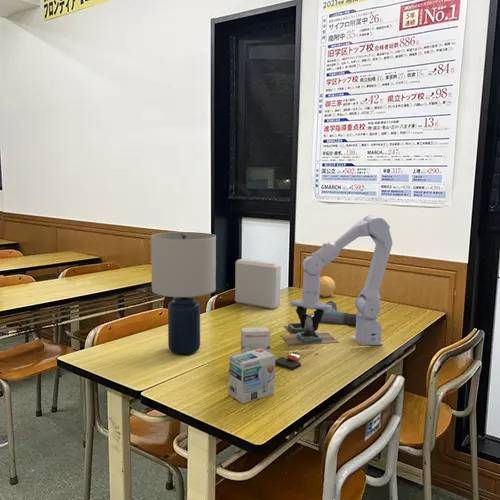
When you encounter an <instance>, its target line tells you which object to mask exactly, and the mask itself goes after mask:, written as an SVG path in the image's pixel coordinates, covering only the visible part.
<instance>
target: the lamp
mask: <svg viewBox="0 0 500 500" xmlns="http://www.w3.org/2000/svg"><path fill="white" fill-rule="evenodd" d="M216 240H217V235H216V234H213V233H207V232H199V231H197V232H196V231H195V232H194V231H171V232H160V233H153V234H151V235H150V251H151V252H150V253H151V255H150V257H151V262H150V263H151V292H152V293H153V294H155V295H157V296H162V297H167V298H168V297H169V298H173V299H172V301H170V302H169V303H168V305H167V332H168V333H167V335H168V337H167V339H168V340H167V343H168V350H169V351H170V352H171V353H172V354H174V355H180V356H187V355H192V354H195V353H196V352H198V351H199V350H200V347H201V304H200V302H199V301H198V300H195V299H196V298H195V297H202V296H203V297H204V296H208V295H210V294H213V293H214V292H216V289H217V288H216V286H217V285H216V282H217V281H216V280H217V279H216V278H217V277H216V275H217V273H216V269H217V267H216V266H217V259H216V256H217V251H216V250H217V249H216V247H217V245H216V244H217V241H216Z"/></svg>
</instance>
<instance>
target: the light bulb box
mask: <svg viewBox="0 0 500 500" xmlns="http://www.w3.org/2000/svg"><path fill="white" fill-rule="evenodd" d="M275 360H276V355H275V354H273V353H271V352H270V353H269V352H267V351H265V350H263V349H261V348H260V349H256V350H252V351H248V352H244V353H241V352H240V353H236V354H233V355H232V354H231V355H229V368H228V369H229V370H228V371H229V372H228V373H229V374H228V375H229V377H228V379H229V382H228V383H229V384H228V386H229V387H228V395H230V396H231V397H233V398H234V399H235V400H237V402H239V403H241V404H246V403H250V402H253V401H257V400H261V399H263V398H265V397H269V396H272V395H275V377H276V365H275Z"/></svg>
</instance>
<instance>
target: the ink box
mask: <svg viewBox="0 0 500 500" xmlns="http://www.w3.org/2000/svg"><path fill="white" fill-rule="evenodd" d="M240 331H241V332H240V333H241V335H240V353H244V352H248V351H252V350H256V349H260V348H261V349H263V350H265V351H267V352H269V353H271V330H270V328H269V327H268V326H267V327H265V326H264V327H260V326H259V327H241V328H240Z"/></svg>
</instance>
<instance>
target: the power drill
mask: <svg viewBox="0 0 500 500" xmlns="http://www.w3.org/2000/svg"><path fill="white" fill-rule="evenodd" d="M325 304H326V305H331V306H332V308H331V312H327V311H325V312H324V313H323V315H322V317H321V320H320V322H319V323H327V324H339V325H341V324H342V325H347V326H349V325H350V326H351V325H352V326H356V314H357V313H348V312H345V311H344V312H343V311H340V310H338V306H337V303H336V302H335V301H333V300H330V301H327V302H326V303H325Z"/></svg>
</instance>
